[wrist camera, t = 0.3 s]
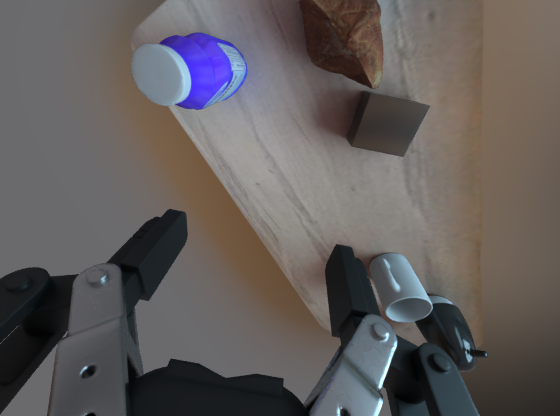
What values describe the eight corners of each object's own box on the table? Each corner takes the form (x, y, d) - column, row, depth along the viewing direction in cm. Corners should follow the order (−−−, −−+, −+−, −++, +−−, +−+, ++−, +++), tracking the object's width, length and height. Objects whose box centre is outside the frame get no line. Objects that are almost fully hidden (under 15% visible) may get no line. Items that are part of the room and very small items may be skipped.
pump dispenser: (460, 297, 53) (511, 368, 41) (428, 316, 59) (463, 384, 46) (429, 284, 52) (472, 353, 39) (398, 305, 57) (427, 373, 44)
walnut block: (363, 90, 30) (371, 93, 27) (416, 101, 31) (430, 105, 27) (346, 138, 34) (351, 146, 31) (393, 148, 35) (403, 157, 31)
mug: (413, 269, 49) (439, 315, 40) (377, 282, 52) (394, 327, 43) (393, 236, 44) (417, 280, 35) (355, 252, 48) (369, 296, 38)
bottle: (223, 107, 33) (164, 136, 18) (193, 74, 31) (101, 78, 16) (256, 71, 30) (218, 73, 16) (227, 32, 28) (150, -9, 13)
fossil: (399, 83, 27) (377, 69, 19) (338, 110, 32) (303, 107, 25) (379, -31, 25) (346, -95, 17) (317, 18, 30) (273, -14, 23)
